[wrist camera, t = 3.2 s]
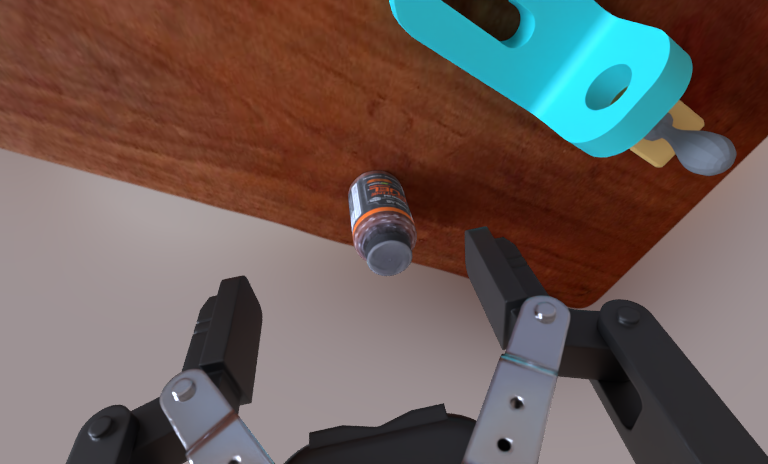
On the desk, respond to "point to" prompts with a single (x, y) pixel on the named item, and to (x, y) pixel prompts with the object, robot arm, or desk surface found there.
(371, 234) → the supplement bottle
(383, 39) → the desk surface
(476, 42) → the bracket
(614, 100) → the rubber stamp
